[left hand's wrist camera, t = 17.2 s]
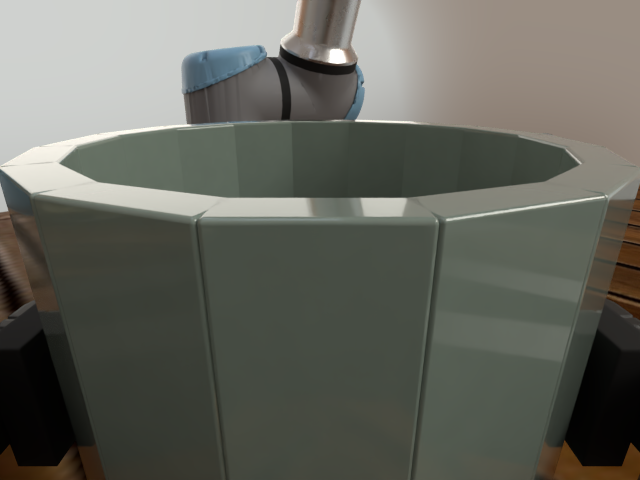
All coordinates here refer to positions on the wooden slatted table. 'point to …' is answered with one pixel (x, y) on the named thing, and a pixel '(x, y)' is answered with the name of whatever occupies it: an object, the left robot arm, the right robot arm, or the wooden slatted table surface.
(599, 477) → the wooden slatted table surface
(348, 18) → the right robot arm
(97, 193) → the pot
